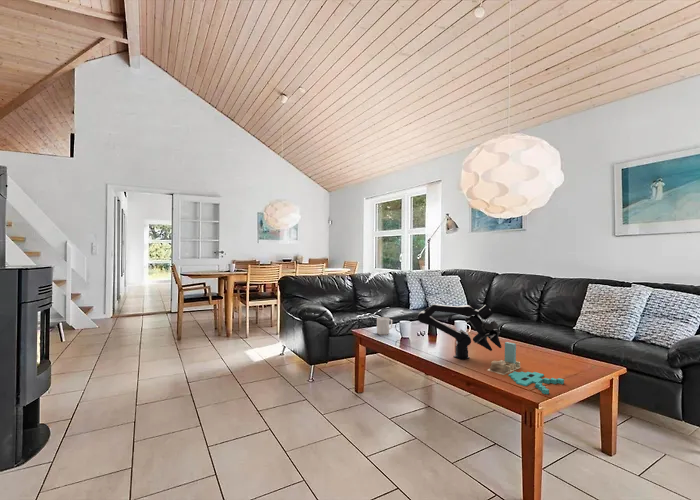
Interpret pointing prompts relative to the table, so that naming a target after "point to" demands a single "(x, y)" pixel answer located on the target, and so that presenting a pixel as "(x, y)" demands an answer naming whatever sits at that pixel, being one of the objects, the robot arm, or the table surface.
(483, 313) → the robot arm
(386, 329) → the mug
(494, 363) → the upper oak offcut
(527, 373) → the alien figure
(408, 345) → the table surface
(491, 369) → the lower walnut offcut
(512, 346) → the teal panel
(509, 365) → the birch rack
